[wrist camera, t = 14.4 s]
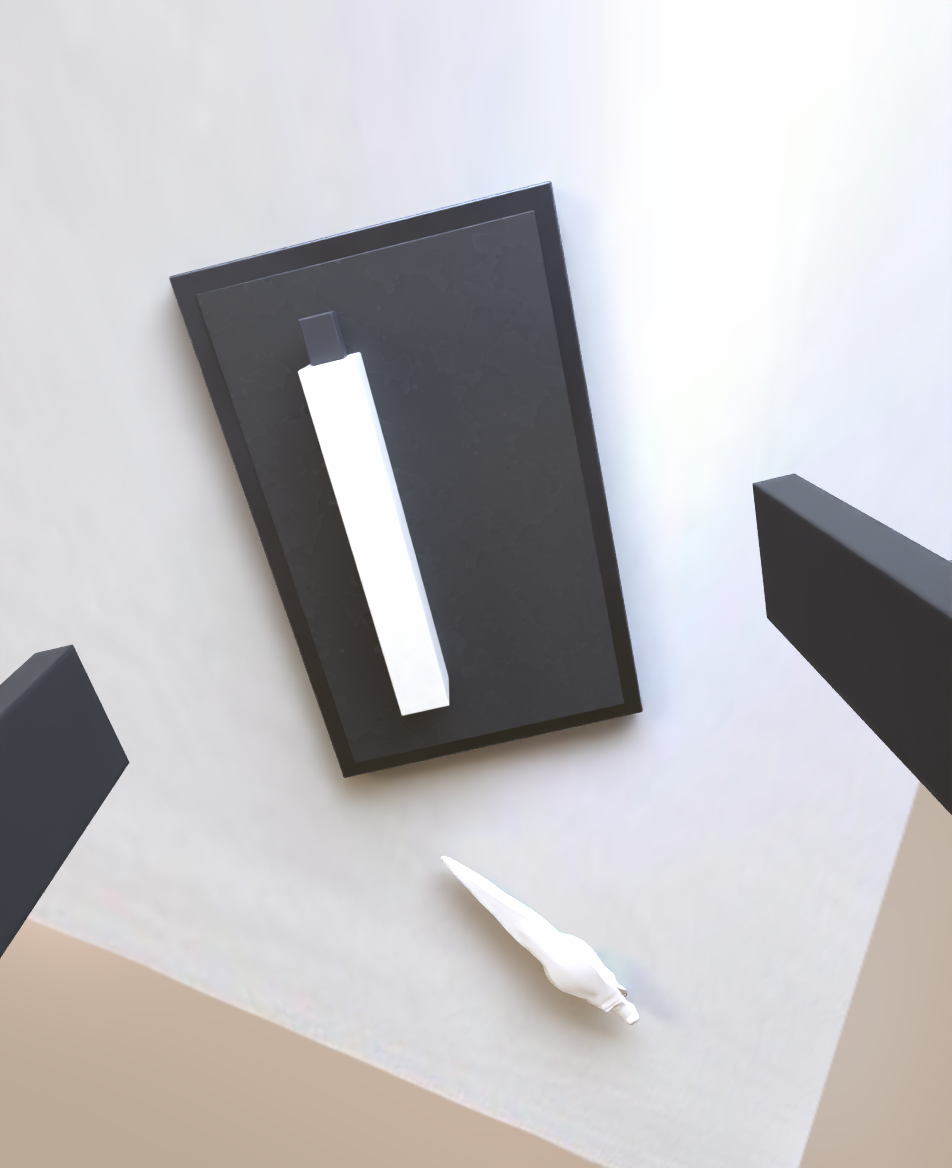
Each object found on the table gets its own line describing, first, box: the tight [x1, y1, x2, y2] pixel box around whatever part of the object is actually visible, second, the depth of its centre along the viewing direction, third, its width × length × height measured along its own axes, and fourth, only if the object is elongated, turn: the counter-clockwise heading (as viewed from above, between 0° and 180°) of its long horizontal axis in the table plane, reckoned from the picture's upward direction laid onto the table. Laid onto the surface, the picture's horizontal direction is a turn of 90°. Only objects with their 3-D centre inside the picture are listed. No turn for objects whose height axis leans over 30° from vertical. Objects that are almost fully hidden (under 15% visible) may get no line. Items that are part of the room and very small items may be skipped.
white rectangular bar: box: [298, 311, 449, 716], centre depth 30 cm, size 2×16×2 cm, turn 13°
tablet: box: [169, 181, 643, 778], centre depth 32 cm, size 14×22×1 cm, turn 13°
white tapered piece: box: [441, 856, 639, 1025], centre depth 40 cm, size 15×3×2 cm, turn 43°
